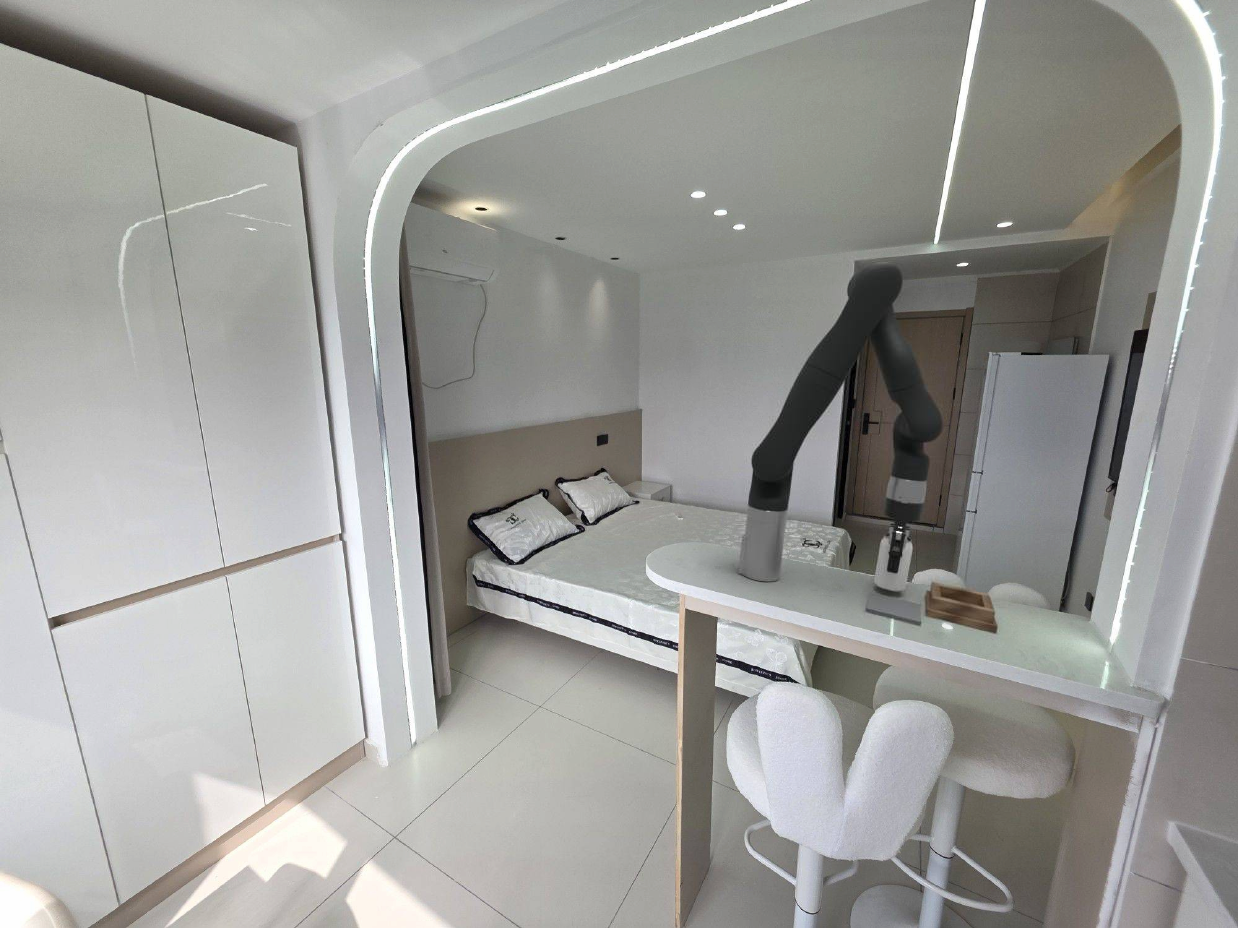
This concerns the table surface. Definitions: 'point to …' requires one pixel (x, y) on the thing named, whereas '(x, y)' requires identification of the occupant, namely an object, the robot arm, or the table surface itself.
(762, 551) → the robot arm
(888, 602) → the mat
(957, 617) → the socket block
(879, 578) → the can
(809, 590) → the table surface
